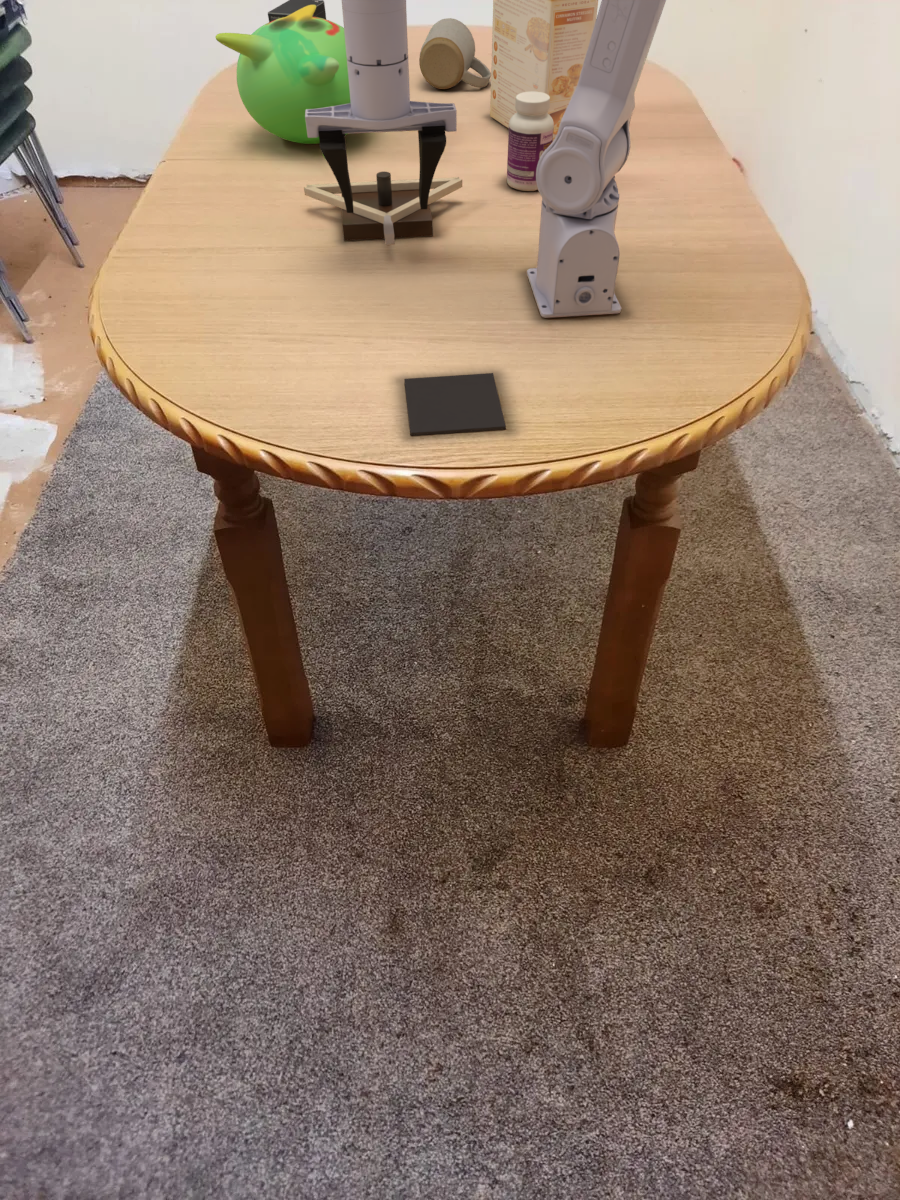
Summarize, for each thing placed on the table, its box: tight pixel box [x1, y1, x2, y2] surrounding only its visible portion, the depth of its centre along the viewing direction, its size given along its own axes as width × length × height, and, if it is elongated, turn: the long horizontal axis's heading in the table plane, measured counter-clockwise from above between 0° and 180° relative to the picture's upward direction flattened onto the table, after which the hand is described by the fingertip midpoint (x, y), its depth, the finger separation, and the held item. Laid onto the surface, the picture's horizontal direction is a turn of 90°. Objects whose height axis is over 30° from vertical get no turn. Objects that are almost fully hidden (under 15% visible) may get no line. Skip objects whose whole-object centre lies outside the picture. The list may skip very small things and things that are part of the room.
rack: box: [341, 171, 434, 242], centre depth 94 cm, size 10×10×5 cm
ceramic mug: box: [418, 17, 491, 90], centre depth 125 cm, size 11×8×8 cm
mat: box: [404, 372, 507, 436], centre depth 71 cm, size 8×8×1 cm
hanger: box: [303, 176, 463, 246], centre depth 92 cm, size 19×15×1 cm
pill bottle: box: [506, 92, 554, 192], centre depth 99 cm, size 5×5×10 cm
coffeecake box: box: [489, 0, 599, 141], centre depth 107 cm, size 15×7×20 cm, turn 25°
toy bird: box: [215, 5, 351, 145], centre depth 107 cm, size 18×17×15 cm
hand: (386, 207), depth 86 cm, fingers open, 7 cm apart
